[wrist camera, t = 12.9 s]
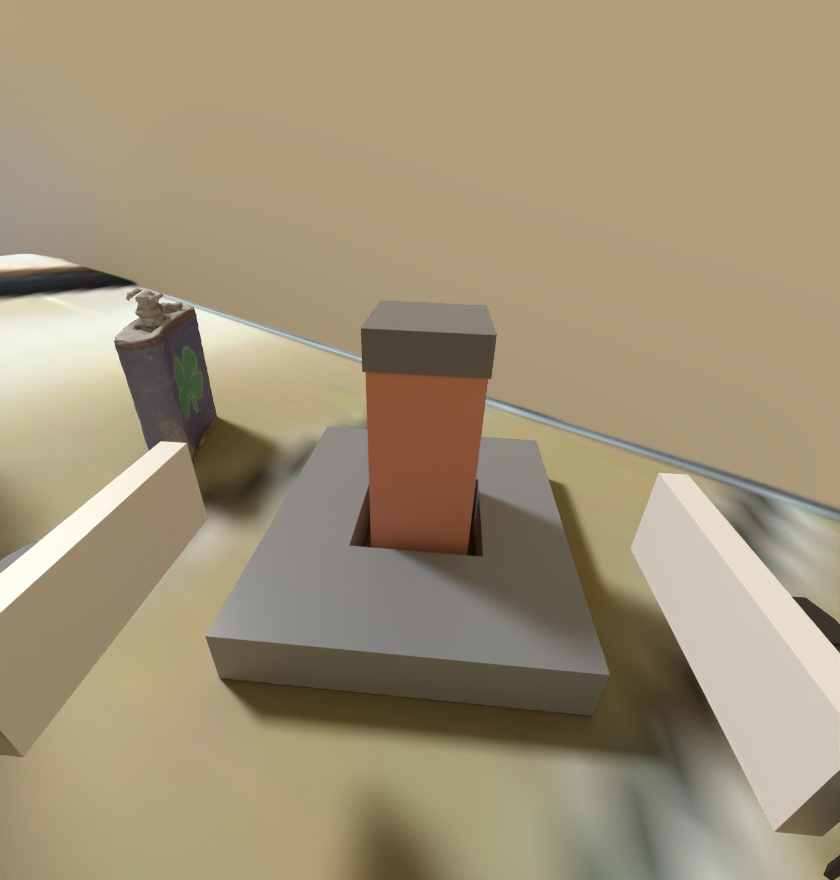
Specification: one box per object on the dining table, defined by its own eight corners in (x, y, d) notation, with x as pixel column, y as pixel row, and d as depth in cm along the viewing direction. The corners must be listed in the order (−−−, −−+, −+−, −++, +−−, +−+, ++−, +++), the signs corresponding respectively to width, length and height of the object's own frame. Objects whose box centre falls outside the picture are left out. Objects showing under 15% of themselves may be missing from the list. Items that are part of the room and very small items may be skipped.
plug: (369, 577, 21) (361, 328, 15) (382, 515, 25) (380, 300, 19) (465, 584, 21) (496, 335, 15) (463, 520, 25) (486, 305, 19)
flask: (189, 474, 28) (140, 306, 23) (140, 477, 27) (79, 307, 22) (223, 413, 36) (193, 278, 31) (185, 414, 35) (149, 278, 30)
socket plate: (219, 678, 16) (205, 636, 15) (330, 457, 30) (327, 426, 29) (592, 716, 16) (610, 675, 14) (530, 472, 29) (536, 440, 28)
